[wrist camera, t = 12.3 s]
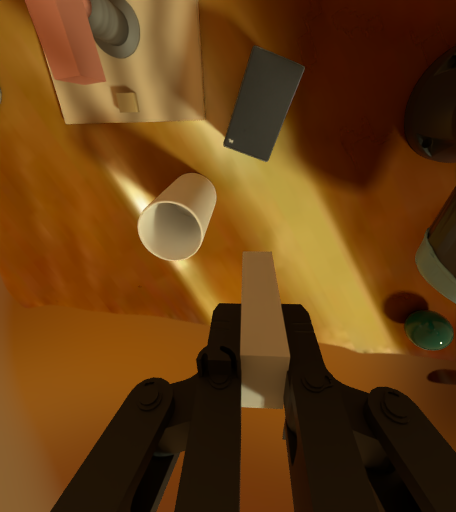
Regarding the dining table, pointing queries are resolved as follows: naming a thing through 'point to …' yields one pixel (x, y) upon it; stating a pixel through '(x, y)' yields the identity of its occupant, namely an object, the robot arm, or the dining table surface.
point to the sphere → (428, 330)
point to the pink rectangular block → (67, 39)
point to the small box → (262, 103)
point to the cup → (178, 218)
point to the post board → (140, 65)
